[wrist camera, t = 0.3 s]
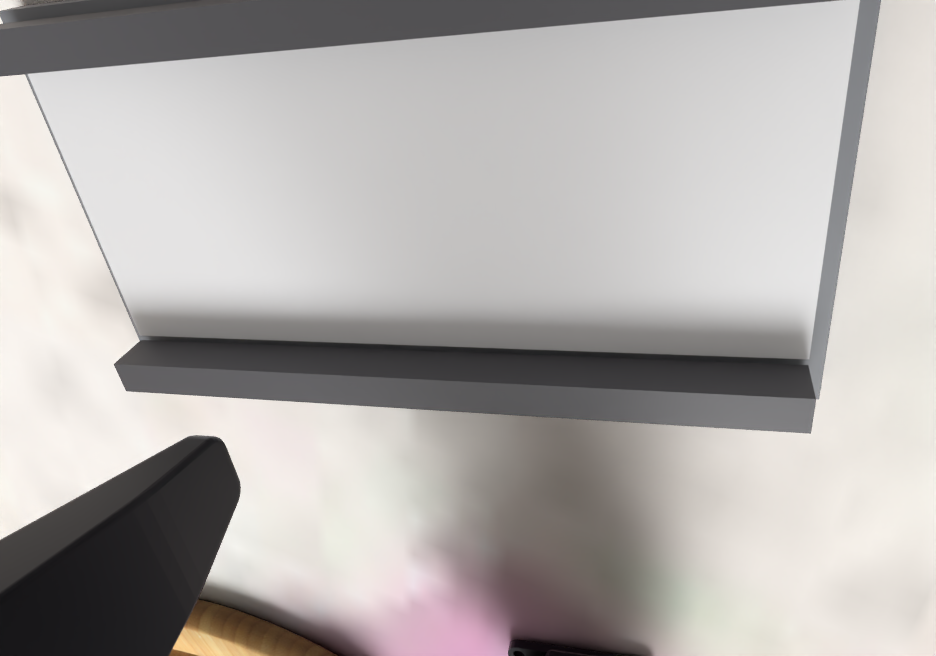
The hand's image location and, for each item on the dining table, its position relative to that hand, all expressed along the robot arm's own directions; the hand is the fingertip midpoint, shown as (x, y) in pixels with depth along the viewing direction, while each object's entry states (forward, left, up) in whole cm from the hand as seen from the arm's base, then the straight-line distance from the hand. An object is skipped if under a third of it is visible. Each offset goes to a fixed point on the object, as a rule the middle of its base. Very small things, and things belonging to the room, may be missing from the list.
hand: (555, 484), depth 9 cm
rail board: (-2, +6, -14) cm, 15 cm away
